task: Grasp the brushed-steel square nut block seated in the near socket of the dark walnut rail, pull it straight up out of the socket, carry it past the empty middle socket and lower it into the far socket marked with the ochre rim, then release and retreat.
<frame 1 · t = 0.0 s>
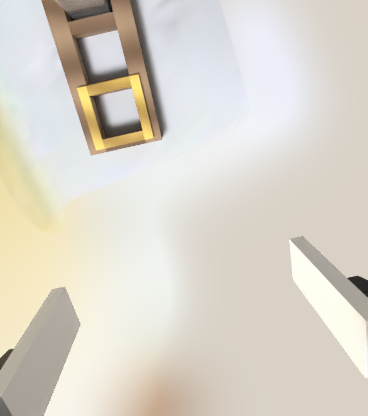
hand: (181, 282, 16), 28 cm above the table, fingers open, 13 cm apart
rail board: (104, 58, 37), on the table
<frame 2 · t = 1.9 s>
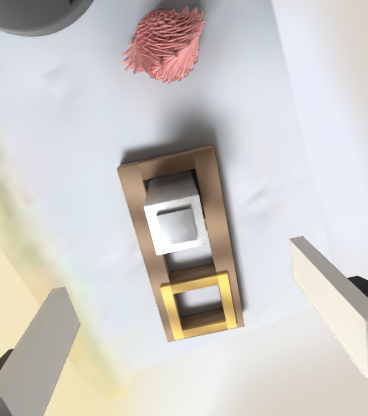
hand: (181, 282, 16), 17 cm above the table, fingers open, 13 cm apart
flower: (163, 53, 27), on the table
nut block: (174, 194, 32), resting in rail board
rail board: (187, 248, 34), on the table
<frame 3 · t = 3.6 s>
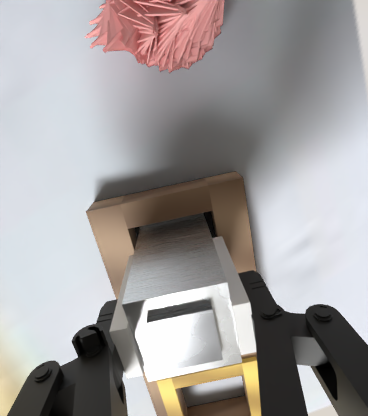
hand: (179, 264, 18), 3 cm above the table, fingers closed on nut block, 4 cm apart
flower: (160, 24, 17), on the table
nut block: (178, 244, 21), resting in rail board, touching gripper
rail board: (196, 318, 23), on the table
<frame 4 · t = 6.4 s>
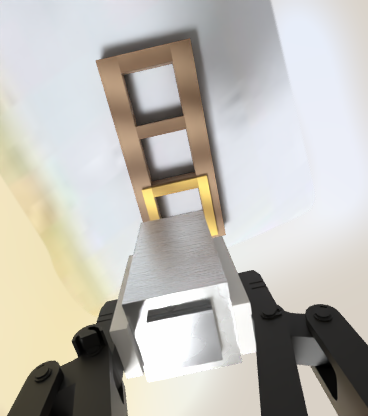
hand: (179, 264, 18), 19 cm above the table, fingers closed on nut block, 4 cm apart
nut block: (178, 244, 21), point 17 cm above the table, touching gripper
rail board: (168, 155, 35), on the table
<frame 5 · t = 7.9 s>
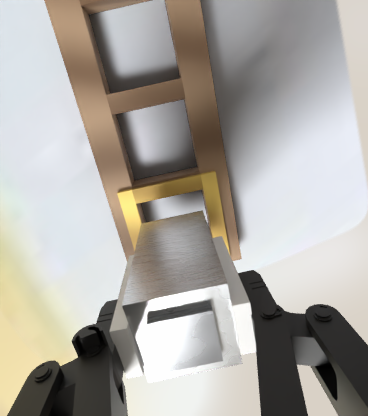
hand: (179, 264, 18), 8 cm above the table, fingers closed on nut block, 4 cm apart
nut block: (178, 244, 21), point 5 cm above the table, touching gripper
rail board: (158, 141, 24), on the table
when the fingers open (4 cm above the table, at t = 9.0 s): nut block drops 1 cm, resting in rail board.
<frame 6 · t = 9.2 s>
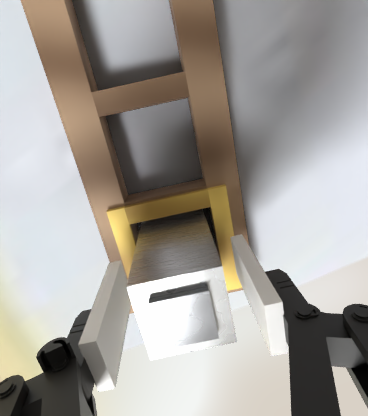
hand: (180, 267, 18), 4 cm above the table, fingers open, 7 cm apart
nut block: (178, 236, 22), resting in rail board
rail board: (156, 148, 20), on the table
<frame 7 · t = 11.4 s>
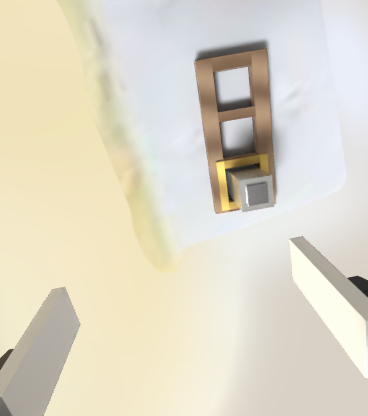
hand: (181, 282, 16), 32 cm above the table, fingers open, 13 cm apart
nut block: (240, 179, 47), resting in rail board
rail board: (236, 137, 45), on the table
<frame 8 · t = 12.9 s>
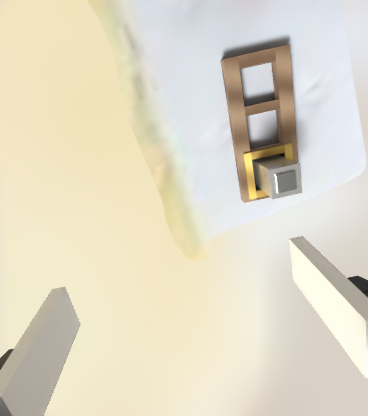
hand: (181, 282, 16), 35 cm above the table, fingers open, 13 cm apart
nut block: (265, 169, 50), resting in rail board
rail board: (261, 129, 48), on the table
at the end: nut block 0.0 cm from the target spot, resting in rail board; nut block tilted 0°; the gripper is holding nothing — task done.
